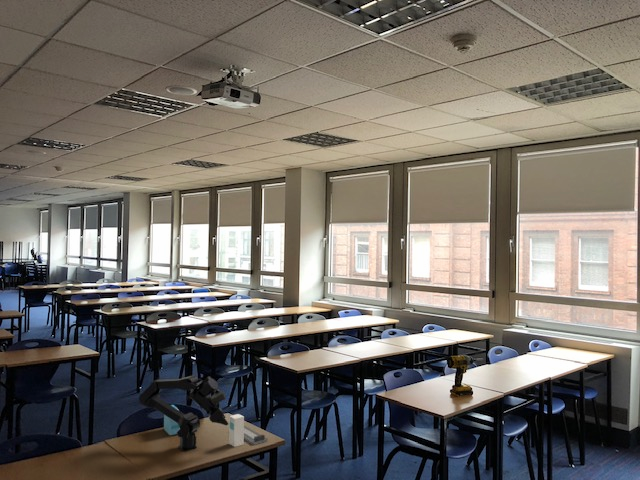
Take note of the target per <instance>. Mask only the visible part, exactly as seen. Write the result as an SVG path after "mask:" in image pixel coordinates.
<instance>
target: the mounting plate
mask: <svg viewBox="0 0 640 480" xmlns="http://www.w3.org/2000/svg"><path fill="white" fill-rule="evenodd" d="M268 440H269V438H267V437H266V435H265V434H260V433H259V432H256V431H254V430H253V429H251V428H250V427H247V426H246V425H244V442H245V441H246V442H248V443H249V444H250V445H252V446H255V445H259V444H262V442H263V443H265V442H268ZM258 443H259V444H258Z"/></svg>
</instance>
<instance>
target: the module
mask: <svg viewBox="0 0 640 480" xmlns="http://www.w3.org/2000/svg"><path fill="white" fill-rule="evenodd" d="M228 420H229V421H228V427H229V431H228V432H229V433H228V434H229V435H228V438H229V440H228V444H229V445H231V446H232V447H233V448H235V447H236V448H237V447H239V446H243V445H245V440H244V426H245V416H243V415H241V414H240V413H236V414H232V415H229V419H228Z"/></svg>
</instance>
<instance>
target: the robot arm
mask: <svg viewBox="0 0 640 480" xmlns="http://www.w3.org/2000/svg"><path fill="white" fill-rule="evenodd" d="M218 388H219V385H218V381H217V380H216V379H214V378H212V377H211V376H207V377H206V378H204V380H202V379H201V378H198V377H197V376H196V375H194V374H193V375H189V376H186V377H183V378H173V379H172V378H171V379H160V378H159V379H156V380H153V381H152V382H151V383H150V385H148V387H146V389H145V390H144V391H143V392H142V393H140V395H139V396H138V401H139V402H138V403H139V404H140V405H141V406H143V407H144V408H145V407H146V408H151V409H155V410H157V411H158V412H159V413H160V414H162V415H163V416H164V415H166V416H167V417H169V418H170V419H172V420H173V421H175V422H176V423H178V425H179V431H178V432H177V434H176V435H177V437H178V438H179V445H178V448H179V449H180V450H181V451H183V452H187V451H189V450H193V449H197V447H198V446H197V436H196V433H197V432H198V429H199V428H200V426H201V419H200V418H199V417H198V415H195V414H194V413H193V412H188V413H184V412H182V411H180V410H179V409H178V408H177V407H176V408H177V409H178V410H177V409H176V408H174V407H172V406H171V405H172V404H169V403H167V402H166V401H164V400H163V399H162V397H161V395H160V392H161V390H163V389H164V390H165V389H167V390H168V389H170V390H171V389H179V390H180V391H184V392H185V391H186V401H187V402H188V401H189V400H190V399H191V400H192V401H193V402H194V403H195V404H197V406H199V408H200V409H201V410H204V412H205V413H206V414H207V415H208V419H209V421H210V422H211V423H216V424H219V425H224V426H229V421H228V420H227V419H226V415H225V414H224V411H223V410H222V408H221V407H220V403H221V402H222V401H225V400H226V396H225V393H224V391H223V390H219V389H218ZM211 394H212V395H211Z"/></svg>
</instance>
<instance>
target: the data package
mask: <svg viewBox="0 0 640 480" xmlns="http://www.w3.org/2000/svg"><path fill="white" fill-rule="evenodd" d="M170 405H171V406H172V407H174V408H176V409H177V410H179V409H178V407H177V406H175V405H174V404H170ZM163 429H164V431H165V432H166V433H167V434H168V436H175V435H177V432H178V431H179V430H180V427H179V425H178V423H176V422H175V421H173V420H172V419H170V418H169V417H167V416H166V415H164V414H163Z"/></svg>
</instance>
